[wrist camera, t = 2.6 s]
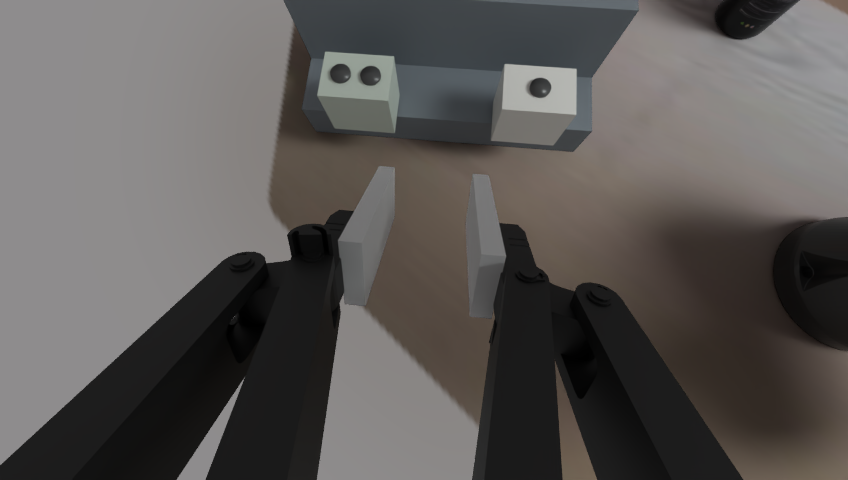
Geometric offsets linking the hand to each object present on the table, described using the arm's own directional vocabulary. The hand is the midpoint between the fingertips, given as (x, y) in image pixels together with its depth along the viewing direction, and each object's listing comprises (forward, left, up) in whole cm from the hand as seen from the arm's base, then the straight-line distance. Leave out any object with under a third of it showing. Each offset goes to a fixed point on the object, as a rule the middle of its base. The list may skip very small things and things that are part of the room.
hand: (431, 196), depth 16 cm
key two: (-4, -18, -19) cm, 26 cm away
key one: (-17, -7, -19) cm, 26 cm away
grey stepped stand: (-15, -18, -24) cm, 34 cm away
